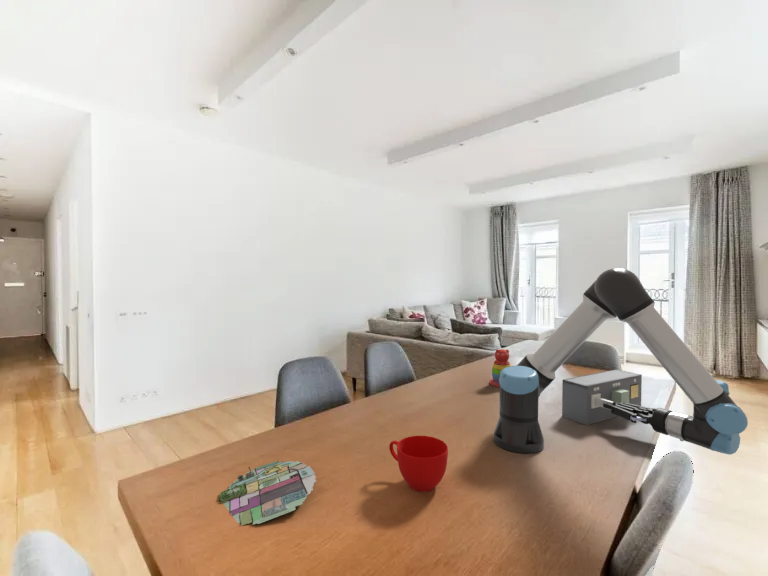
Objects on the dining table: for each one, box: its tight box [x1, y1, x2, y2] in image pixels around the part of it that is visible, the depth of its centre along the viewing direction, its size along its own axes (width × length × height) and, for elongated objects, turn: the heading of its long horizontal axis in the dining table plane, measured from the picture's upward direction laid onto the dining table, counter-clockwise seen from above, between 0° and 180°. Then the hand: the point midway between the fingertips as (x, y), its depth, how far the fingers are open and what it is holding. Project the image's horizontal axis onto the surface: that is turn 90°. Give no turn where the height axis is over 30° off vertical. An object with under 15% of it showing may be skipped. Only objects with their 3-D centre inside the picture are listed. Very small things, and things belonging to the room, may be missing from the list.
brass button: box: [630, 384, 638, 399], centre depth 150 cm, size 6×5×5 cm
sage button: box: [611, 388, 629, 403], centre depth 142 cm, size 6×5×5 cm
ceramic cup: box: [388, 435, 449, 493], centre depth 98 cm, size 13×17×10 cm
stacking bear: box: [489, 348, 512, 388], centre depth 184 cm, size 11×10×18 cm
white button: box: [591, 393, 601, 409], centre depth 139 cm, size 6×5×5 cm
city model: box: [217, 460, 317, 527], centre depth 92 cm, size 25×23×6 cm
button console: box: [561, 368, 642, 426], centre depth 147 cm, size 10×34×14 cm, turn 118°
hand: (596, 401), depth 137 cm, fingers closed
